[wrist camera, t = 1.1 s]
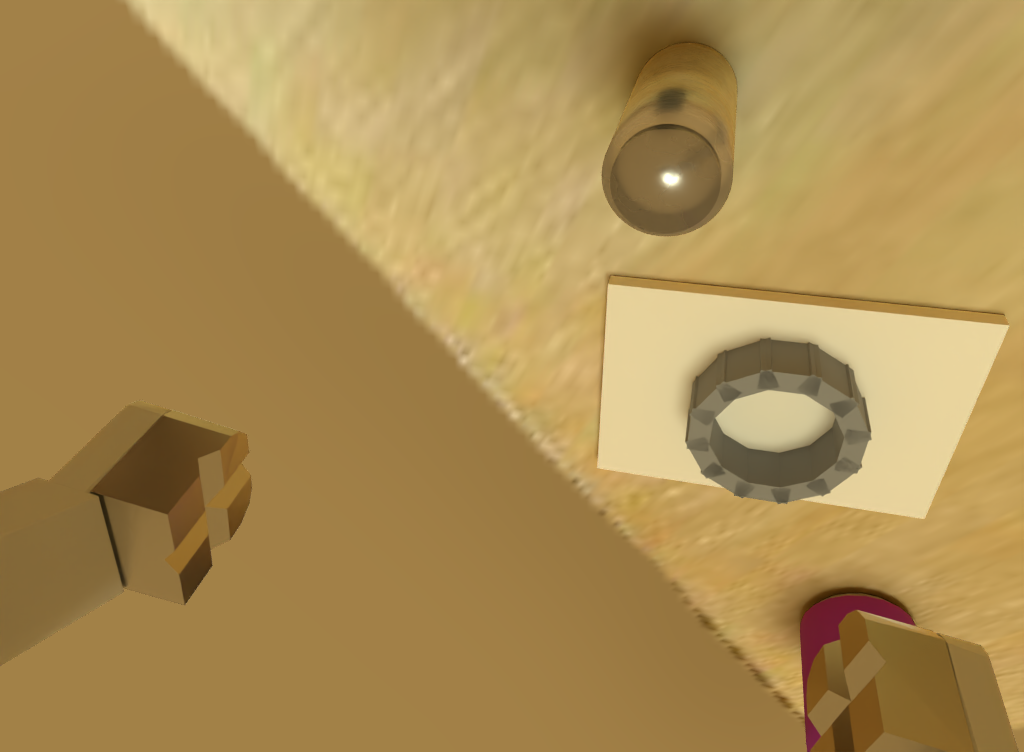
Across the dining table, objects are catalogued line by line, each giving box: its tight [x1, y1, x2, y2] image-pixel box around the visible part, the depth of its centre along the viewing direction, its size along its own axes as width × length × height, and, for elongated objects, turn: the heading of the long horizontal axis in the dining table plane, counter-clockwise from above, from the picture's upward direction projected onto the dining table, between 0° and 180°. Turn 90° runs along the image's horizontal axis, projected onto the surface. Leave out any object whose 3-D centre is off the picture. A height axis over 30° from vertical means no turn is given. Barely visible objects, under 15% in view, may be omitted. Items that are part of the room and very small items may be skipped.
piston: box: [602, 42, 738, 236], centre depth 32 cm, size 5×5×11 cm
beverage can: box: [800, 593, 916, 752], centre depth 50 cm, size 8×8×12 cm
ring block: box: [597, 275, 1010, 519], centre depth 43 cm, size 20×14×4 cm
